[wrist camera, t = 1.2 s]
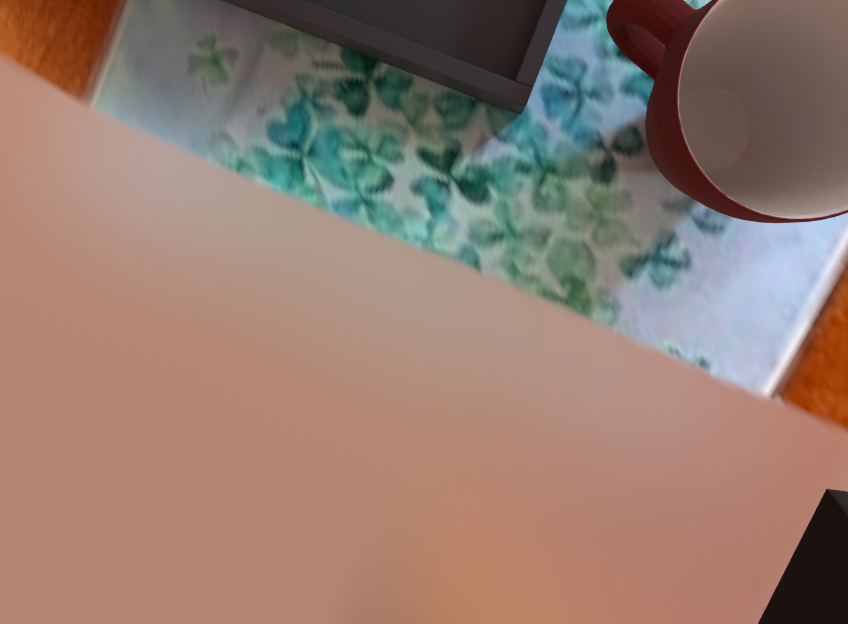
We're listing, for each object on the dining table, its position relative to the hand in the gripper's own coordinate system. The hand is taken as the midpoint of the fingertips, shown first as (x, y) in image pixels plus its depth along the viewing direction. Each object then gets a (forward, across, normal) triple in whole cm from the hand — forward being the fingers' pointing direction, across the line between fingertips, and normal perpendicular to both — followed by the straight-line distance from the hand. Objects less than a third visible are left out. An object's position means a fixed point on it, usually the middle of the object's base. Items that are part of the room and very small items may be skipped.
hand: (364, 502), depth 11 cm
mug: (+25, +12, +3) cm, 28 cm away
